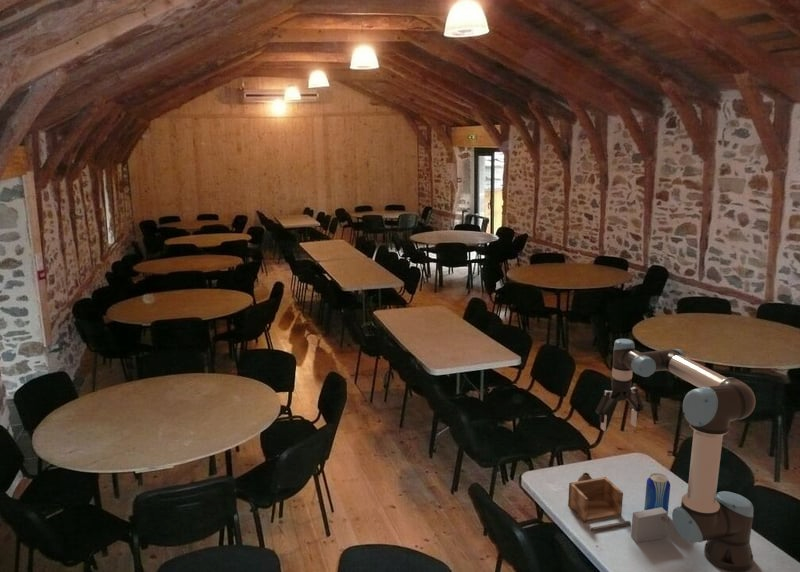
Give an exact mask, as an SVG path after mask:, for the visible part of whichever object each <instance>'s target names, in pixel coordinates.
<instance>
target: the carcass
mask: <svg viewBox="0 0 800 572" xmlns="http://www.w3.org/2000/svg"><path fill="white" fill-rule="evenodd" d="M577 481H578V480H577ZM577 481H574V482H573V481H572V482H569V484H568V505H567V506H568V508H570V509H571V510H572V511H573V512H574V514H575V515H576V516H577V517H578V518H579V519H580V520H581V521H582V522H583V524H585V523H591V522H596V521H602V520H607V519H613V518H618V517H622V512H623V499H624V492H623V491H622V490H621V489H620V488H619V487H617V485H616V484H614V483H613V482H612V481H611V480H610V479H609V478H608V477H607V476H603V477H598V478H597V477H596V478H592V479H590V480H584V481H578V482H577ZM626 526H632V521H630V520H626V521H621V522H614V523H610V524H603V525H599V526H591V527H590V531H591V532H592V533H594V532H601V531H604V530H605V531H606V530H612V529H617V528H621V527H626Z"/></svg>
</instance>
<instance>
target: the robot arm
mask: <svg viewBox="0 0 800 572" xmlns="http://www.w3.org/2000/svg"><path fill="white" fill-rule="evenodd" d="M635 348H636V347H635V342H634V341H633V340H632V339H629V338H618V339H616V340H614V346H613V349H612V350H613V352H612V368H611V369H612V372H611V384H610V385H611V390H607V389H604V390H603V393H602V394H603V395H602V397H601V398H600V400H599V403H598V405H597V407H596V408H595V413H596V414H597V415H598V416H599V419H598V420H599V422H600V429H601V430H602V431H603V432H606V431H607V419H608V416H607V413H608V412H609V410H610V409H611V408H612V407H613V406H614V404H615V403H617V402H620V401H626V400H627V402H628V403H629V404H630V405H631V407H632V408H631V410H630V411H631V412H630V413H631V414H630V425H631V426H633V427H634V428H636V427H637V419H638V418H639V413H640V412H641V411H642V410H643V409H644V407H645V406H644V405H643V401H642V400H641V398H640V395H639V389H638V388H637V387H636V386H634V385H633V386H632V383H633V380H632V378H633V373H634V374H636V375H638V376H641V377H644V378H647V377H650V376H651V375H654V373H656V372H660V371H661V372H662V371H668V373H671V374H673V375H674V376H677V377H679V378H680V379H682V380H684V381H686V382H688V383H690V384H691V385H693V386H695V387H696V388H694V389H690V391H688V392H687V393H686V394H685V397H684V399H683V401H682V412H683V413H684V415H683V417H684V418H685V420H686V421H687V423H689V427H690V428H691V429H692V430H693V434H692V445H691V453H690V454H691V455H690V464H689V474H688V475H689V476H688V484H687V493H685V494H683V495H682V497H681V501H680V506H676V507H675V508H674V509H673V510H672V513H671V518H672V522H673V526H674V528H675V530H676V531H677V533H678V534H679V536H680V537H681V539H683V540H684V541H686V542H687V543H691V544H693V543H694V544H695V543H703V542H705V541H706V543H704V549H703V552H704V553H703V554H704V557H705V558H706V559H707V561H708V562H710V563H711V564H713V565H714V566H716V567H718V568H720V569H723V570H724V571H725V570H726V571H728V572H747V571H749V570H750V569H752V567H753V566H754V555H753V552H752V548H751V543H750V542H751V541H750V540H751V533H752V527H753V522H754V521H753V519H754V505H753V503H752V502H751V501H750V500H749V499H748V498H746V497H745V496H743V495H741V494H738V493H734V492H731V491H724V490H723V491H719V492H717V489H718V481H719V473H720V465H721V464H720V463H721V456H722V447H723V438H724V436H725V435H726V434H728V433H729V431H730V424H731V422H733V421H740V420H743V419H745V418H747V417H749V416H750V415H751V414H752V413H753V411H754V409H755V408H756V396H755V394H754V391H753V390H752V388H751V387H750V386H748V385H747V384H746V383H745V382H743V381H741V380H739V379H737V378H735V377H733V376H732V377H726V376H724V375H721V374H720V373H718V372H716V371H714V370H712V369H710V368H709V367H706V366H704V365H702V364H700V363H698V362H696V361H693V360H692V359H689V358H688V357H687V356H686V353H684V351H683V350H682V349H679V348H669V349H664V350H663V349H662V350H661V349H660V350H655V351H645V352H641V351H639V350H636V349H635ZM631 394H632V395H633V398H634V400H633V399H632V397H631V396H630V395H631Z"/></svg>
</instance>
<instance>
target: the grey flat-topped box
mask: <svg viewBox="0 0 800 572" xmlns="http://www.w3.org/2000/svg"><path fill="white" fill-rule="evenodd" d="M668 515H669V511H668V512H667V511H665V510H664V509H663V508H662V507H660V508H655V509H649V510H644V509H643V510H639V511H634V512H632V521H631V530H630V531H631V532H630V537H631V538H632V539H633V540H634V541H635V542H636V543H641V542H645V541H649V540H656V539H662V538H666V537H667V526H668V524H667V523H668Z"/></svg>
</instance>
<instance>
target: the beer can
mask: <svg viewBox="0 0 800 572" xmlns="http://www.w3.org/2000/svg"><path fill="white" fill-rule="evenodd" d="M645 486H646V487H645V498H644V499H645V500H644V507H643V508H644V509H643V511H644V510H649V509H655V508H660V507H662V508H663V509H664V510H665V511H667V512H668V513H669V505H670V504H669V503H670V494H671V482H670V481H669V478H668V476H667V475H665V474H664V473H663V474H662V473H659V472H656V473H655V472H653V473H651V474H650V475H649V477H648V478H647V479H646V484H645Z"/></svg>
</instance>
